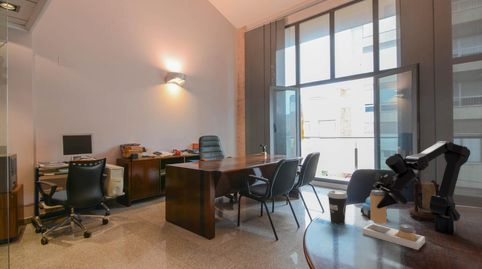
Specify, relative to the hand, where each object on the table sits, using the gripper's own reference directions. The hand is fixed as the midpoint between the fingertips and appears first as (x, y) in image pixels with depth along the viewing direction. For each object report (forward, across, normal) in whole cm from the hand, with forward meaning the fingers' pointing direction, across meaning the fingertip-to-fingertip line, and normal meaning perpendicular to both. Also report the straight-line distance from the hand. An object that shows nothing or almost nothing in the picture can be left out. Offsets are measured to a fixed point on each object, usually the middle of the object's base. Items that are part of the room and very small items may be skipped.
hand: (374, 206), depth 106 cm
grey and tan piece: (+2, +8, +15) cm, 17 cm away
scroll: (-16, -24, +35) cm, 46 cm away
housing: (+6, +4, +13) cm, 15 cm away
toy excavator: (0, -27, +19) cm, 33 cm away
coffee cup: (+17, -17, +2) cm, 24 cm away
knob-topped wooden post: (+4, 0, +6) cm, 7 cm away
